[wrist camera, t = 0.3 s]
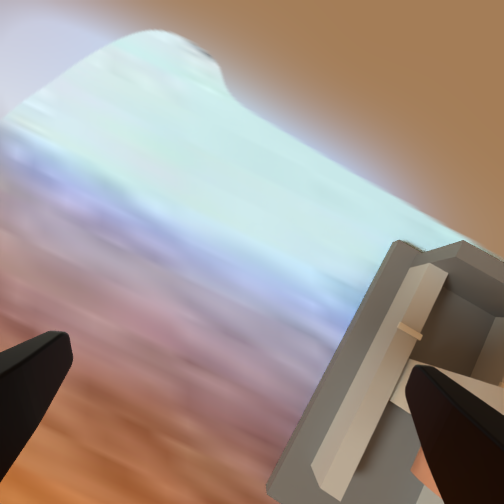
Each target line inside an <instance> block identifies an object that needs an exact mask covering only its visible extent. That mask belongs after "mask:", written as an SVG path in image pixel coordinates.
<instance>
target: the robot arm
mask: <svg viewBox="0 0 504 504" xmlns="http://www.w3.org/2000/svg"><path fill="white" fill-rule="evenodd" d="M72 362H73V353H72V348H71V343H70V338H69V335H68V333H66V332H62V331H48V332H46V333H43V334H41V335H39V336H36V337H34V338H32V339H30V340H27V341H25V342H23V343H21V344H18V345H16V346H14V347H12V348H9V349H7V350H5V351H3V352H0V482H1V481H2V479H3V478H4V476H5V475H6V473H7V472H8V470H9V469H10V467H11V466H12V464H13V463H14V461H15V460H16V458H17V457H18V455H19V454H20V452H21V451H22V449H23V448H24V446H25V445H26V443H27V442H28V440H29V439H30V437H31V436H32V434H33V433H34V431H35V430H36V428H37V427H38V425H39V423H40V422H41V420H42V418H43V416H44V415H45V413H46V411H47V409H48V407H49V406H50V404H51V402H52V400H53V398H54V397H55V395H56V393H57V391H58V389H59V387H60V386H61V384H62V382H63V380H64V378H65V376H66V375H67V373H68V371H69V369H70V367H71V365H72ZM405 397H406V400H407V404H408V407H409V410H410V413H411V416H412V419H413V422H414V425H415V429H416V432H417V435H418V438H419V441H420V444H421V447H422V450H423V453H424V456H425V459H426V462H427V464H428V467H429V469H430V471H431V474H432V476H433V479H434V481H435V483H436V486H437V488H438V490H439V493H440V495H441V498H442V500H443V502H444V504H504V415H503V414H501V413H500V412H499V411H497V410H496V409H494V408H493V407H491V406H490V405H488V404H487V403H486V402H484V401H483V400H481V399H480V398H478V397H477V396H475V395H474V394H473V393H471V392H470V391H468V390H467V389H465V388H464V387H462V386H461V385H460V384H458V383H457V382H455V381H454V380H452V379H451V378H449V377H448V376H447V375H445V374H444V373H442V372H441V371H439V370H438V369H436V368H435V367H433V366H430V365H420V364H417V365H415V366H414V367H413V368H412V371H411V373H410V376H409V379H408V381H407V384H406V386H405Z"/></svg>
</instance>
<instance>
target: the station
mask: <svg viewBox="0 0 504 504" xmlns="http://www.w3.org/2000/svg"><path fill="white" fill-rule="evenodd" d="M408 358H409V359H412V360H415V361H419V362H422V363H425V364H428V365H431V366H435V367H438V368H441V369H444V370H447V371H451V372H454V373H457V374H460V375H464V376H467V377H470V378H473V379H476V380H480V381H483V382H486V383H489V384H492V385H496V386H499V387H502V388H504V262H502V261H500V260H498V259H497V258H495V257H493V256H491V255H489V254H488V253H486V252H484V251H482V250H480V249H479V248H477V247H475V246H473V245H471V244H470V243H468V242H466V241H464V240H462V241H459V242H456V243H453V244H449V245H446V246H443V247H440V248H437V249H433V250H430V251H427V252H424V253H422V252H420V251H418V250H416V249H415V248H413V247H411V246H409V245H408V244H406V243H404V242H402V241H401V240H397V241H395V242H393V243H392V245H391V247H390V249H389V251H388V252H387V254H386V256H385V258H384V260H383V262H382V264H381V266H380V268H379V270H378V272H377V273H376V275H375V277H374V279H373V281H372V283H371V285H370V287H369V289H368V291H367V293H366V295H365V296H364V298H363V300H362V302H361V304H360V306H359V308H358V310H357V312H356V314H355V316H354V317H353V319H352V321H351V323H350V325H349V327H348V329H347V331H346V333H345V335H344V337H343V339H342V340H341V342H340V344H339V346H338V348H337V350H336V352H335V354H334V356H333V358H332V360H331V361H330V363H329V365H328V367H327V369H326V371H325V373H324V375H323V377H322V379H321V381H320V383H319V384H318V386H317V388H316V390H315V392H314V394H313V396H312V398H311V400H310V402H309V404H308V405H307V407H306V409H305V411H304V413H303V415H302V417H301V419H300V421H299V423H298V425H297V427H296V428H295V430H294V432H293V434H292V436H291V438H290V440H289V442H288V444H287V446H286V448H285V449H284V451H283V453H282V455H281V457H280V459H279V461H278V463H277V465H276V467H275V469H274V471H273V472H272V474H271V476H270V478H269V480H268V482H267V484H266V491H267V495H269V496H270V497H272V498H273V499H275V500H276V501H278V502H279V503H281V504H444V502H443V500H442V499H441V498H440V497H439V496H437V495H436V494H435V493H434V492H432V491H431V490H430V489H429V488H428V487H426V486H425V485H424V484H423V483H422V482H421V481H420V480H419V479H418V478H417V477H416V476H415V475H414V474H413V473H412V472H411V470H410V469H411V467H412V465H413V462H414V460H415V458H416V456H417V453H418V451H419V449H420V446H421V444H420V441H419V438H418V435H417V432H416V429H415V425H414V422H413V419H412V416H411V414H410V413H408V412H406V411H405V410H403V409H402V408H400V407H399V406H397V405H396V404H394V403H393V402H391V401H389V398H390V396H391V394H392V392H393V390H394V387H395V385H396V383H397V381H398V379H399V377H400V375H401V373H402V371H403V368H404V366H405V364H406V362H407V360H408Z"/></svg>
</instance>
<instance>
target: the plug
mask: <svg viewBox="0 0 504 504" xmlns="http://www.w3.org/2000/svg"><path fill="white" fill-rule="evenodd" d="M417 364H420V365H428V364H425V363H422V362H419V361H415V360H412V359H409V358H408V360H407V362H406V364H405V366H404V368H403V371H402V373H401V375H400V377H399V379H398V381H397V383H396V385H395V387H394V390H393V392H392V394H391V396H390V398H389V401H391V402H393V403H394V404H396V405H397V406H399V407H400V408H402V409H403V410H405V411H406V412H408V413H410V410H409V407H408V404H407V400H406V397H405V386H406V384H407V381H408V379H409V376H410V373H411V371H412V368H413V367H414V366H415V365H417ZM430 366H431V365H430ZM433 367H435V366H433ZM435 368H436V369H438V370H439V371H441V372H442V373H444V374H445V375H447V376H448V377H449V378H451V379H452V380H454V381H455V382H457V383H458V384H460V385H461V386H462V387H464V388H465V389H467V390H468V391H470V392H471V393H473V394H474V395H475V396H477V397H478V398H480V399H481V400H483V401H484V402H486V403H487V404H488V405H490V406H491V407H493V408H494V409H496V410H497V411H499V412H500V413H501V414H503V415H504V388H502V387H499V386H496V385H492V384H489V383H486V382H483V381H480V380H476V379H473V378H470V377H467V376H464V375H460V374H457V373H454V372H451V371H447V370H444V369H441V368H438V367H435ZM410 414H411V413H410ZM410 470H411V472H412V473H413V474H414V475H415V476H416V477H417V478H418V479H419V480H420V481H421V482H422V483H423V484H424V485H425V486H426V487H428V488H429V489H430V490H431V491H432V492H434V493H435V494H436V495H437V496H439V497H440V498H441V495H440V493H439V490H438V488H437V486H436V483H435V481H434V479H433V476H432V474H431V471H430V469H429V467H428V464H427V462H426V459H425V456H424V453H423V450H422V447H421V446H420V449H419V451H418V453H417V456H416V458H415V460H414V462H413V465H412V467H411V469H410ZM441 499H442V498H441Z"/></svg>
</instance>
